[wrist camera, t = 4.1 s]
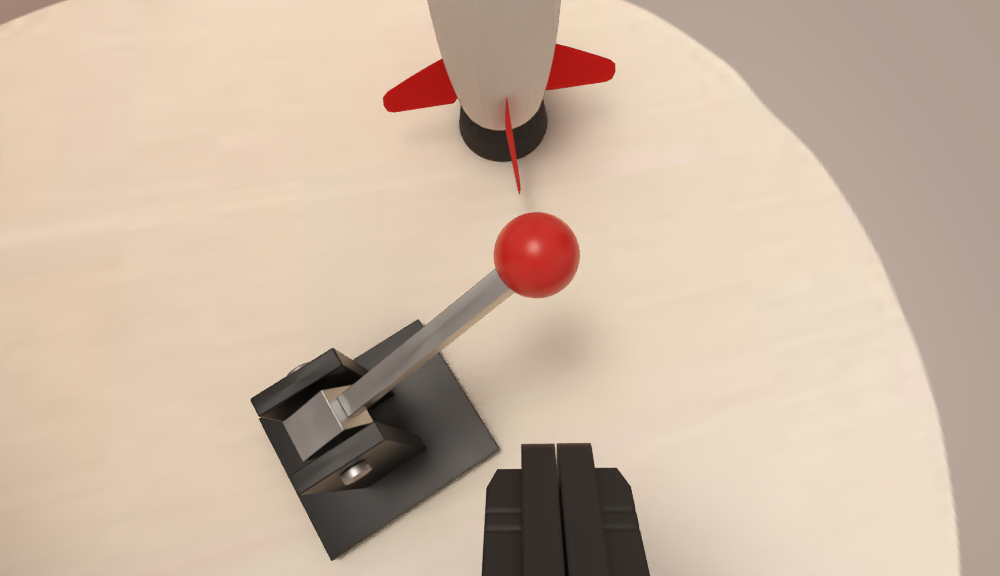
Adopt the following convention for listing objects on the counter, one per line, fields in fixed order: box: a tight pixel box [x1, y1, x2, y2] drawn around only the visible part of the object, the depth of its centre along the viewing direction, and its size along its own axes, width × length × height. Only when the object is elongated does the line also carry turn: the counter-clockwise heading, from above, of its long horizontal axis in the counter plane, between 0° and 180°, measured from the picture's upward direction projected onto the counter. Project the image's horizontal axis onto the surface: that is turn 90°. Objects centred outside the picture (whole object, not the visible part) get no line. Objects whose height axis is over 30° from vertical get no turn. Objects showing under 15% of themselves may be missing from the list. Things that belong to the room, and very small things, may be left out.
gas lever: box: [283, 212, 580, 462], centre depth 28 cm, size 16×4×4 cm, turn 122°
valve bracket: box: [251, 320, 500, 561], centre depth 34 cm, size 12×10×13 cm
